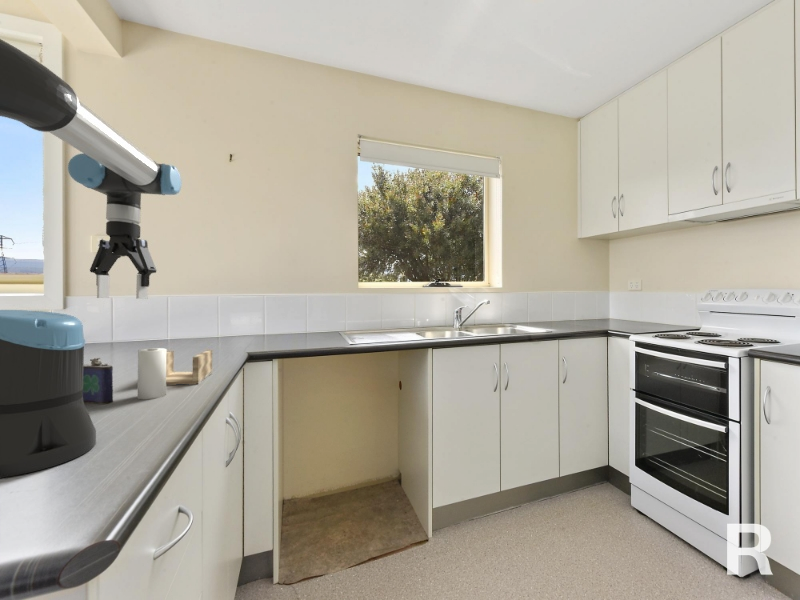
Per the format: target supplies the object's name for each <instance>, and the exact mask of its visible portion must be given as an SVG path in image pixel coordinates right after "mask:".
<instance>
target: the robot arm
mask: <svg viewBox="0 0 800 600" xmlns="http://www.w3.org/2000/svg"><path fill="white" fill-rule="evenodd" d="M0 117H2V118H7V119H10V120H14V121H17V122H19V123H22V124H23V125H25V126H26V127H28V128H29V129H30V128H31V129H33V130H34V131H38V132H43V133H49V134H52V135H54V137H57V138H58V139H59V140H61V141H63V142H65V143H66V144H68V145H70V146H71V147H73V148H74V149H76V150H78V151H79V152H81V153H78V154H76V155H73V156H72V158H70V159H69V161H68V165H67V171H68V174H69V176H70V177H71V178H72V180H74V181H75V182H76V183H79V184H80V185H83V186H84V188H88V189H91V190H94V191H95V192H99V193H101V194H102V195H105V196H106V209H105V210H106V211H105V213H106V214H105V219H106V220H107V222H106V223H105V225H106V226H105V227H106V228H105V234H106V236H109V240H104V239H100V240H99V244H98V248H97V252H96V254H95V256H94V258H93V261H92V264H91V266H90V269H89V272H90V273H94V274H95V275H96V298H97V299H110V275H109V272H110V270H111V269H112V267H113V266H114V265H115V264H116V262H117V261H118V259H120V258H121V257H128V259H129V260H130V262H132V265H133V266H134V267H135V269H136V270H137V274H136V295H135V296H136V299H143V300H144V299H145V300H146V299H148V298H149V293H148V292H149V286H150V277H151V274H156V273H157V268H156V266H155V263H154V261H153V258H152V255H151V253H150V251H149V247H148V240H147V239H142V238H141V226H140V225H139V224H140V223H141V212H142V211H141V208H142V207H141V206H142V205H141V204H142V203H141V200H142V195H143V194H145V195H147V194H148V195H159V196H160V195H161V196H165V195H169V196H174V195H177V194H179V193H180V191H181V188H182V178H181V175H180V174H181V173H180V171H179V170H178V168H177V167H175V166H174V165H172V164H165V163H157V162H156V161H155V160H153V158H151V157H150V156H149V155H148V154H147V153H145V152H144V151H142V150H141V149H140V148H139V147H137V146H136V145H135V144H134V143H132V142H131V141H130V140H129V139H128V138H126V137H125V136H124V135H122V134H121V133H120V132H119V131H118V130H116V129H115V128H114V127H112V126H111V125H110V124H108V122H106V121H105V120H104V119H103V118H101V117H100V116H98V115H97V114H96V113H95V112H93V111H92V110H91V108H88V106H86V105H85V104H83V102H81V101H80V100H79V97H78V95H77V93H76V92H75V90H74V88H73V87H71V86H70V85H69V83H67V82H65V81H64V80H63V79H62V78H61V77H60V76H58V75H57V74H56V73H55V72H53V71H52V70H50V68H48V67H46V66H45V65H43V64H42V63H41V62H39V61H38V60H36V59H35V58H33V57H31V56H30V55H28V54H27V53H25V52H23V51H22V50H21V49H20V48H19V49H18V48H17V47H16V46H14V45H11V44H10V43H8V42H7V41H5V40H3V39H1V38H0ZM140 238H141V239H140ZM83 325H84V324H83V322H82V321H81V320H80V319H78V317H76V316H75V315H71V314H66V313H60V312H52V311H44V310H42V311H41V310H24V309H0V479H1V478H8V477H13V476H19V475H24V474H28V473H29V474H30V473H33V472H37V471H40V470H44V469H48V468H52V467H55V466H57V465H60V464H64V463H66V462H69V461H72V460H74V459H76V458H78V457H80V456H83V455H84V454H86V453H88V452H89V451H90V450H92V449H93V448H94V447H95V446H96V445H97V430H96V428H95V425H94V422H93V420H92V418H91V416H90V414H89V412H88V409H87V407H86V405H85V403H84V402H83V366H84V365H85V364H84V361H85V360H84V358H85V357H84V354H85V345H86V340H85V337H84V326H83Z"/></svg>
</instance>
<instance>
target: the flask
mask: <svg viewBox="0 0 800 600" xmlns="http://www.w3.org/2000/svg"><path fill="white" fill-rule="evenodd" d="M99 360H101V357H97V358H96V357H95V358H93V359H92V358H91V359H89V361H90V364H89V363H86V364H84V366H83V402H84V404H98V405H108V404H109V405H110V404H112V403H114V392H113V391H114V388H113V387H114V386H113V383H114V381H113V378H114V377H113V373H114V371H113V368H114V367H113V365H111V364H108V363H103V362H102V361H99Z"/></svg>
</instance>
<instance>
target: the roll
mask: <svg viewBox="0 0 800 600" xmlns="http://www.w3.org/2000/svg"><path fill="white" fill-rule="evenodd" d="M166 351H168V349H167V348H163V347H157V348H156V347H154V348H153V347H152V348H141V349H139V350H138V351H137V399H138V400H153V399H159V398H162V397H165V396H166V395H167V385H166Z"/></svg>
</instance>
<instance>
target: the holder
mask: <svg viewBox="0 0 800 600" xmlns="http://www.w3.org/2000/svg"><path fill="white" fill-rule="evenodd" d="M174 353H175V352H174V350H167V351H166V386H177V385H176V384H189V385H197V384H196V383H199V382H200V381H201V380H203V379H204V378H205V377H206V376H207V375H208V374H210V373H211V372H212V373H213V349H209V350H208V349H207V350H205V351H203V352H201V353H198V354H196V355H195V356H193V357H192V371H174V365H175V364H174V361H175V359H174V358H175V354H174ZM204 380H205V379H204ZM204 380H203V381H204ZM200 383H201V382H200ZM200 383H199V384H200Z"/></svg>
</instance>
